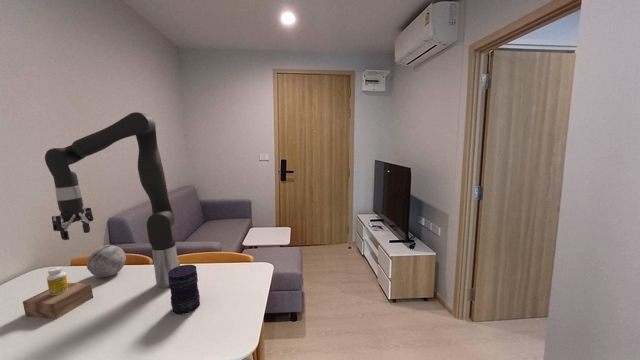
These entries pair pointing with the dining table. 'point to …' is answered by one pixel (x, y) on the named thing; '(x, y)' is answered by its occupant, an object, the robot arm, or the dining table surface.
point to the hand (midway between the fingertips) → (76, 236)
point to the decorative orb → (106, 261)
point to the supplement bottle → (57, 281)
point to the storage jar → (184, 289)
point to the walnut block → (57, 301)
